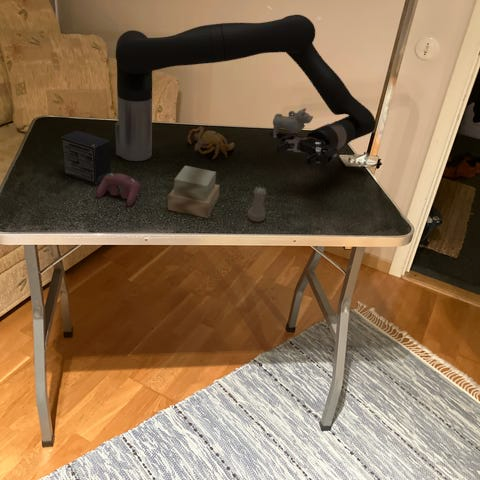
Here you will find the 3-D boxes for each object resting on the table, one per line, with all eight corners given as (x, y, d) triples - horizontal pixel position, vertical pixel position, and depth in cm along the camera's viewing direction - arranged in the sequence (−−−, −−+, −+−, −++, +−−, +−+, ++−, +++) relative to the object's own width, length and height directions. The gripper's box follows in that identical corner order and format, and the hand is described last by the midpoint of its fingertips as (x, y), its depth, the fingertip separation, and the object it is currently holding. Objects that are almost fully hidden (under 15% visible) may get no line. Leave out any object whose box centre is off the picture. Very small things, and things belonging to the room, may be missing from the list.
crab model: (243, 156, 151) (245, 140, 148) (208, 163, 144) (209, 146, 141) (215, 137, 160) (217, 121, 157) (181, 142, 154) (182, 125, 151)
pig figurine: (306, 144, 163) (313, 113, 157) (269, 137, 165) (274, 106, 159) (309, 139, 167) (315, 108, 161) (272, 131, 169) (277, 101, 163)
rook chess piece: (263, 224, 119) (268, 195, 115) (245, 220, 120) (249, 191, 115) (266, 215, 123) (271, 186, 118) (249, 211, 123) (252, 183, 119)
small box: (112, 176, 131) (110, 139, 125) (96, 186, 126) (94, 147, 120) (80, 165, 134) (77, 128, 128) (63, 174, 129) (59, 136, 123)
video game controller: (138, 207, 122) (144, 179, 121) (129, 207, 118) (136, 178, 117) (103, 197, 125) (108, 169, 124) (93, 196, 120) (99, 168, 119)
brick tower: (167, 209, 120) (168, 180, 115) (181, 191, 128) (182, 163, 124) (207, 218, 119) (210, 188, 114) (218, 199, 127) (221, 171, 122)
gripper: (307, 118, 134) (271, 132, 123) (353, 134, 127) (319, 151, 116) (302, 144, 138) (267, 160, 127) (346, 161, 131) (313, 180, 120)
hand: (292, 156), depth 121 cm, fingers open, 8 cm apart
